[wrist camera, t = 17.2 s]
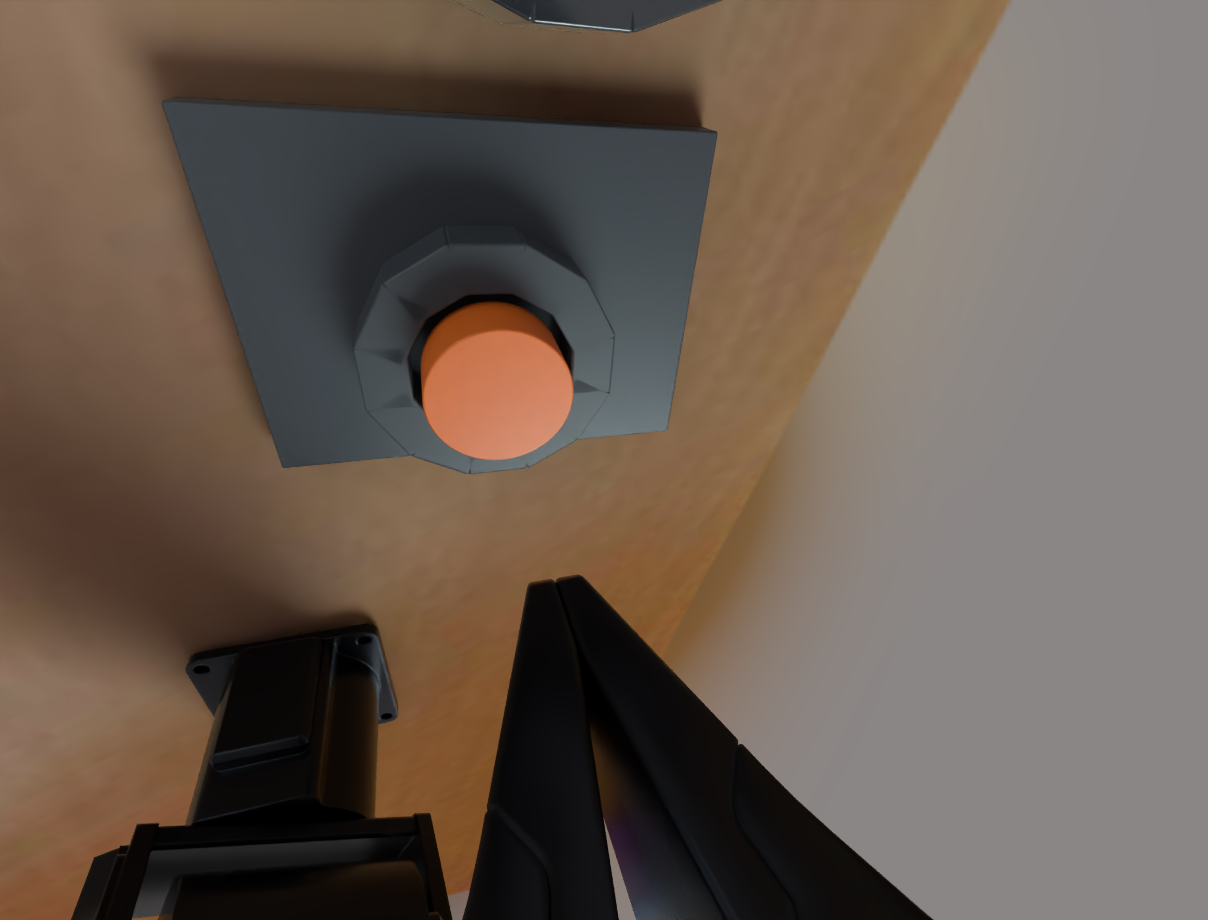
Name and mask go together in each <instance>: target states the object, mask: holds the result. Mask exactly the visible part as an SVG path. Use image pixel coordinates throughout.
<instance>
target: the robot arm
mask: <svg viewBox="0 0 1208 920" xmlns="http://www.w3.org/2000/svg"><path fill="white" fill-rule="evenodd" d="M186 673H187V675H188V676H189V678H190V679H191V681H192V682H193V684H194V686H195V687H196V689H197V690H198V692H199V694H200V695H201V697H202V698H203V700H204V702H205V703H206V705H207V706H208V708H209V709H210V711H211V713H212V714H213V716H214V717H215V718H214V722H213V725H212V729H211V732H210V736H209V740H208V743H207V747H206V751H205V754H204V758H203V762H202V765H201V769H200V773H199V776H198V780H197V784H196V787H195V791H194V794H193V798H192V802H191V805H190V809H189V813H188V816H187V820H186V824H185V826H162V827H158V826H159V823H147V824H137V825H136V828H135V831H134V833H133V836H132V839H131V841H130V844H129V845H125V846H120V848H118V849H115V850H113V851H110V852H107V853H105V854H102V855H100V856H97V857H94V860H93V862H92V865H91V868H90V870H89V873H88V876H87V878H86V881H85V884H84V886H83V889H82V892H81V894H80V897H79V900H78V902H77V905H76V908H75V910H74V913H73V916H72V918H71V920H132V919H133V918H142V917H151V916H159V918H158V920H452V916H451V911H450V906H449V901H448V896H447V891H446V887H445V882H444V877H443V872H442V867H441V863H440V858H439V853H438V848H437V843H436V838H435V834H434V829H433V824H432V819H431V815H430V813H415V814H414V815H413V816H411V817H386V818H375V799H376V771H377V743H378V724H382V723H386V722H390V721H393V720H394V719H396V718H397V717H398V703H397V699H396V695H395V692H394V688H393V684H392V680H391V676H390V672H389V669H388V665H387V661H386V657H385V653H384V649H383V646H382V642H381V638H380V634H379V630H378V629H377V627H375V626H374V625H370V624H362V625H356V626H350V627H344V628H339V629H333V630H327V631H321V632H315V633H309V634H303V635H297V636H291V637H286V638H280V639H274V640H268V641H262V642H256V643H250V644H244V645H238V646H233V647H227V648H221V649H215V650H209V651H203V652H199V653H195V654H193V655H192V656H190V658H189V660H188V663H187V666H186ZM487 810H488V812H486V814H485V818H484V823H483V829H482V834H481V840H480V845H479V850H478V855H477V860H476V864H475V869H474V874H473V878H472V883H471V887H470V892H469V897H468V901H467V905H466V908H465V912H464V915H463V919H462V920H619V918H618V911H617V905H616V898H615V891H614V885H613V878H612V872H611V865H610V858H609V852H608V845H607V838H606V832H605V825H604V820H605V823H606V826H607V829H608V832H609V836H610V839H611V842H612V845H613V848H614V851H615V854H616V858H617V861H618V864H619V867H620V870H621V873H622V877H623V880H624V883H625V886H626V889H627V892H628V895H629V899H630V902H631V905H632V908H633V911H634V914H635V918H636V920H933V919H932V918H931V917H930V916H928V915H927V914H926V913H925V912H924V911H923V910H921V909H920V908H919V907H918V906H917V905H915V903H913V902H912V901H911V900H910V899H909V898H908V897H906V896H905V895H904V894H903V893H902V892H901V891H900V890H898V889H897V888H896V887H895V886H894V885H893V884H892V883H890V882H889V881H888V880H887V879H886V878H885V877H883V876H882V875H881V874H880V873H879V872H878V871H877V870H876V869H874V868H873V867H872V866H871V865H870V864H869V863H867V862H866V861H865V860H864V859H863V858H862V857H861V856H859V855H858V854H857V853H856V852H855V851H854V850H853V849H851V848H850V847H849V846H848V845H847V844H846V843H845V842H843V841H842V840H841V839H840V838H839V837H838V836H837V835H835V834H834V833H833V832H832V831H831V830H830V829H829V828H827V827H826V826H825V825H824V824H823V823H822V822H821V821H820V820H819V819H818V818H816V817H815V816H814V815H813V814H812V813H811V812H810V811H809V810H808V809H807V808H805V807H804V806H803V805H802V804H801V803H800V802H799V801H798V800H797V799H796V798H795V797H793V795H792V794H791V793H790V792H789V791H788V790H787V789H785V788H784V786H782V784H781V783H780V782H779V781H778V780H776V779H775V777H774V776H773V775H772V774H770V772H769V771H768V770H766V769H765V767H764V766H762V764H761V763H760V762H759V761H758V760H757V759H756V758H755V757H754V756H753V755H752V754H751V753H750V752H749V751H748V749H746V747H745V746H744V745H742V744H739V745H738V740H737V738H736V737H735V736H734V735H733V734H732V733H731V732H730V731H729V730H728V729H727V728H726V727H725V726H724V724H723V723H722V722H721V721H720V720H719V719H718V718H717V717H716V716H715V715H714V714H713V713H712V712H711V711H710V710H709V709H708V708H707V707H706V706H705V704H704V703H703V702H702V701H701V700H700V699H699V698H698V697H697V696H696V695H695V694H694V693H693V692H692V691H691V690H690V689H689V688H688V687H687V686H686V685H685V683H684V682H683V681H682V680H681V679H680V678H679V677H678V676H677V675H676V674H675V673H674V672H673V671H672V670H671V669H670V668H669V667H668V666H667V664H665V662H664V661H663V660H662V659H661V658H660V657H659V656H658V655H657V654H656V653H655V652H654V651H653V650H652V649H651V648H650V647H649V646H648V644H647V643H646V642H645V641H644V640H643V639H642V638H641V637H640V636H639V635H638V634H637V633H636V632H635V631H634V630H633V629H632V628H631V627H630V625H629V624H628V623H627V622H626V621H625V620H624V619H623V618H622V617H621V616H620V615H619V614H618V613H617V612H616V611H615V610H614V609H613V608H612V607H611V605H610V604H609V603H608V602H607V601H606V600H605V599H604V598H603V597H602V596H601V595H600V594H599V593H598V592H597V591H596V590H595V589H594V588H593V587H592V585H591V584H590V583H589V582H588V581H587V580H586V579H585V578H584V577H583V576H580V575H572V576H566V577H560V578H558V579H556V581H554V580H552V579H548V580H542V581H536V582H531V583H530V584H529V585H528V587H527V592H526V597H525V603H524V608H523V614H522V619H521V624H520V630H519V635H518V641H517V646H516V652H515V657H514V663H513V668H512V673H511V679H510V684H509V690H508V695H507V701H506V706H505V711H504V717H503V722H502V728H501V733H500V739H499V744H498V749H497V755H496V760H495V766H494V771H493V777H492V782H491V787H490V793H489V798H488V804H487ZM603 817H604V819H603Z"/></svg>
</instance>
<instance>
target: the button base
mask: <svg viewBox="0 0 1208 920" xmlns="http://www.w3.org/2000/svg"><path fill="white" fill-rule="evenodd" d="M162 106H163V109H164V112H165V115H166V118H167V121H168V124H169V127H170V130H171V133H172V136H173V139H174V142H175V145H176V148H177V151H178V154H179V157H180V160H181V163H182V166H183V169H184V172H185V175H186V178H187V181H188V184H189V187H190V190H191V193H192V196H193V199H194V202H195V205H196V208H197V211H198V214H199V217H200V220H201V223H202V226H203V229H204V232H205V235H206V238H207V242H208V245H209V248H210V251H211V254H212V257H213V260H214V263H215V266H216V269H217V272H218V275H219V278H220V281H221V284H222V287H223V290H224V293H225V296H226V299H227V302H228V305H229V308H230V311H231V314H232V317H233V320H234V323H235V326H236V329H237V332H238V335H239V338H240V341H241V344H242V347H243V350H244V353H245V356H246V359H247V362H248V365H249V368H250V371H251V374H252V377H253V380H254V383H255V386H256V389H257V392H258V395H259V398H260V401H261V404H262V407H263V410H264V413H265V416H266V419H267V422H268V425H269V428H270V431H271V434H272V437H273V440H274V443H275V446H276V449H277V452H278V455H279V458H280V461H281V464H282V467H283V468H289V467H299V466H309V465H319V464H330V463H340V462H350V461H360V460H371V459H381V458H391V457H401V456H413V457H416V458H419V459H422V460H425V461H428V462H432V463H435V464H438V465H441V466H444V467H447V468H450V469H453V470H456V471H459V472H462V473H469V474H476V473H485V472H494V471H504V470H513V469H522V468H526V467H530V466H532V465H534V464H536V463H537V462H539V461H541V460H543V459H544V458H546V457H548V456H550V455H551V454H553V453H555V452H557V451H558V450H560V449H562V448H564V447H565V446H567V445H569V444H571V443H572V442H574V441H576V440H577V439H586V438H596V437H606V436H616V435H627V434H637V433H647V432H657V431H666V430H667V429H668V423H669V417H670V411H671V405H672V399H673V393H674V387H675V381H676V376H677V370H678V364H679V358H680V352H681V346H682V340H683V334H684V328H685V322H686V317H687V311H688V305H689V299H690V293H691V287H692V281H693V275H694V269H695V263H696V258H697V252H698V246H699V240H700V234H701V228H702V222H703V216H704V210H705V204H706V199H707V193H708V187H709V181H710V175H711V169H712V163H713V157H714V151H715V146H716V140H717V132H716V131H713V130H710V129H707V128H704V127H689V126H672V125H654V124H637V123H620V122H602V121H585V120H568V119H550V118H533V117H515V116H498V115H481V114H463V113H446V112H428V111H411V110H394V109H376V108H359V107H341V106H324V105H307V104H289V103H272V102H255V101H237V100H220V99H202V98H185V97H175V98H171V99H168V100H165V101H162ZM485 301H499V302H505V303H510V304H514V305H517V306H519V307H522V308H524V309H526V310H528V311H530V312H531V313H533V314H534V315H536V316H537V317H538V318H539V319H540V320H541V321H542V322H543V323H544V324H545V325H546V326H547V327H548V329H549V330H550V332H551V333H552V335H553V337H554V339H555V341H556V343H557V345H558V347H559V349H560V351H561V353H562V355H563V357H564V359H565V361H566V363H567V365H568V367H569V370H570V373H571V376H572V380H573V391H574V394H573V402H572V406H571V409H570V412H569V414H568V417H567V419H566V421H565V422H564V424H563V426H562V427H561V428H560V430H559V431H558V432H557V433H556V434H555V435H554V436H553V437H552V438H551V439H550V440H549V441H548V442H546V443H545V444H544V445H542V446H541V447H539V448H538V449H536V450H534V451H532V452H530V453H527V454H525V455H522V456H518V457H515V458H510V459H504V460H485V459H479V458H474V457H471V456H467V455H465V454H462V453H460V452H458V451H456V450H454V449H452V448H451V447H449V446H448V445H447V444H445V443H444V442H443V441H442V440H441V439H440V438H439V437H438V436H437V435H436V434H435V432H434V431H433V430H432V428H431V427H430V425H429V423H428V421H427V419H426V416H425V413H424V409H423V402H422V384H421V365H420V363H421V354H422V350H423V346H424V344H425V342H426V339H427V337H428V336H429V334H430V332H431V331H432V330H433V328H434V327H435V326H436V325H437V324H438V323H439V322H440V321H441V320H442V319H443V318H444V317H445V316H447V315H448V314H450V313H451V312H453V311H455V310H457V309H459V308H461V307H463V306H466V305H469V304H473V303H477V302H485Z"/></svg>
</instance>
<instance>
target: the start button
mask: <svg viewBox="0 0 1208 920" xmlns="http://www.w3.org/2000/svg"><path fill="white" fill-rule="evenodd" d="M420 365H421V384H422V402H423V409H424V413H425V416H426V419H427V421H428V423H429V425H430V427H431V428H432V430H433V431H434V432H435V434H436V435H437V436H438V437H439V438H440V439H441V440H442V441H443V442H444V443H445V444H447V445H448V446H449V447H451V448H452V449H454V450H456V451H458V452H460V453H462V454H465V455H467V456H471V457H474V458H479V459H485V460H504V459H510V458H515V457H518V456H522V455H525V454H527V453H530V452H532V451H534V450H536V449H538V448H539V447H541V446H542V445H544V444H545V443H546V442H548V441H549V440H550V439H551V438H552V437H553V436H554V435H555V434H556V433H557V432H558V431H559V430H560V428H561V427H562V426H563V424H564V422H565V421H566V419H567V417H568V414H569V412H570V409H571V406H572V402H573V394H574V391H573V380H572V376H571V373H570V370H569V367H568V365H567V363H566V361H565V359H564V357H563V355H562V353H561V351H560V349H559V347H558V345H557V343H556V341H555V339H554V337H553V335H552V333H551V332H550V330H549V329H548V327H547V326H546V325H545V324H544V323H543V322H542V321H541V320H540V319H539V318H538V317H537V316H536V315H534V314H533V313H531V312H530V311H528V310H526V309H524V308H522V307H519V306H517V305H514V304H510V303H505V302H499V301H485V302H477V303H473V304H469V305H466V306H463V307H461V308H459V309H457V310H455V311H453V312H451V313H450V314H448V315H447V316H445V317H444V318H443V319H442V320H441V321H440V322H439V323H438V324H437V325H436V326H435V327H434V328H433V330H432V331H431V332H430V334H429V336H428V337H427V339H426V342H425V344H424V346H423V350H422V354H421V363H420Z"/></svg>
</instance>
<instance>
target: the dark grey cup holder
mask: <svg viewBox="0 0 1208 920" xmlns="http://www.w3.org/2000/svg"><path fill="white" fill-rule="evenodd" d="M453 1H454V2H456V3H458V4H460V5H462V6H464V7H466V8H468V9H470V10H472V11H474V12H476V13H478V14H480V15H483V16H486V17H488V18H490V19H492V20H494V21H496V22H497V23H502V24H503V25H508V26H518V27H527V28H533V29H548V30H558V31H568V32H579V33H631V32H637V31H640V30H643V29H646V28H648V27H651V26H654V25H657V24H659V23H662V22H665V21H668V20H670V19H673V18H676V17H679V16H681V15H684V14H687V13H689V12H692V11H695V10H698V9H700V8H703V7H706V6H709V5H711V4H714V3H717V2H720V1H722V0H453Z"/></svg>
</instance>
